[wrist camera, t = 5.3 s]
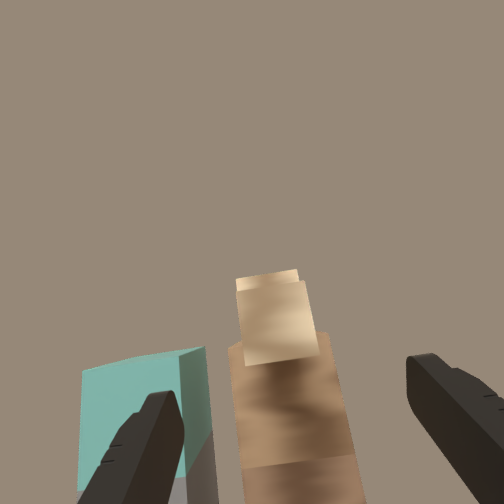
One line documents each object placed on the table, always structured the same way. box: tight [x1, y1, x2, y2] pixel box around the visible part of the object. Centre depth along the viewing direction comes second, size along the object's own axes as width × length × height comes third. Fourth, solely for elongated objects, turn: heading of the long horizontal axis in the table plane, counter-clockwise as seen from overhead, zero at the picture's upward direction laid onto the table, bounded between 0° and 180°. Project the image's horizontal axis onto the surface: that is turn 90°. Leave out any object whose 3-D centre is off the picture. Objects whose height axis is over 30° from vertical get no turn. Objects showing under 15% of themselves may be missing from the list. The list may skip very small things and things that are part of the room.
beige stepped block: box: [236, 269, 320, 366], centre depth 19 cm, size 6×18×6 cm, turn 175°
